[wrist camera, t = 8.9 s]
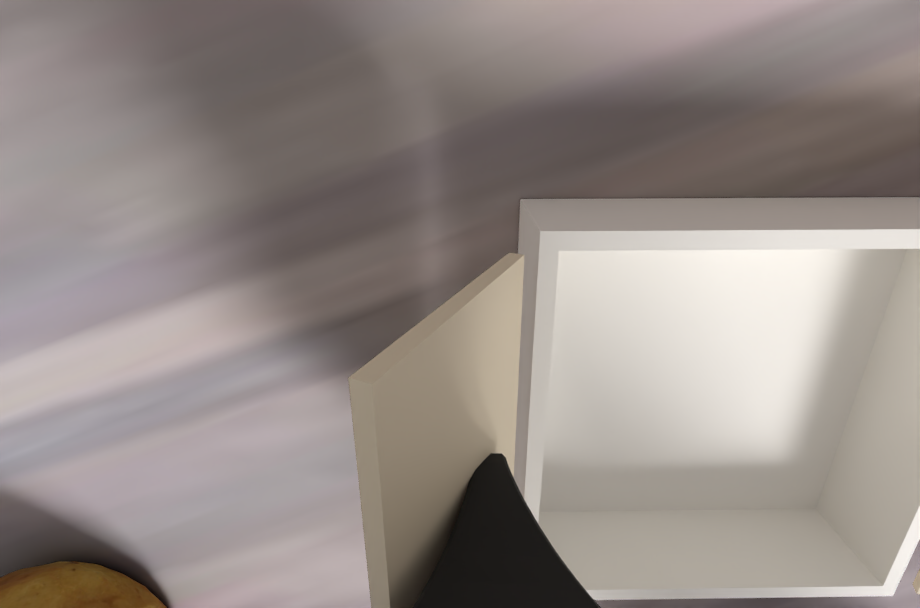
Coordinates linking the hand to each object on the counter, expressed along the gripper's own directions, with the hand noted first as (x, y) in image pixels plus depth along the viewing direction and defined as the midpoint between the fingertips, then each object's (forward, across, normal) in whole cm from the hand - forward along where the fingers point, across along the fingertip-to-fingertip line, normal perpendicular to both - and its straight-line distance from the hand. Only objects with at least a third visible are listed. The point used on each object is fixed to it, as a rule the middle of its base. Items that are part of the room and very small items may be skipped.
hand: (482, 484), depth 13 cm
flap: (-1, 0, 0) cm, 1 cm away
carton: (+6, -8, 0) cm, 10 cm away
